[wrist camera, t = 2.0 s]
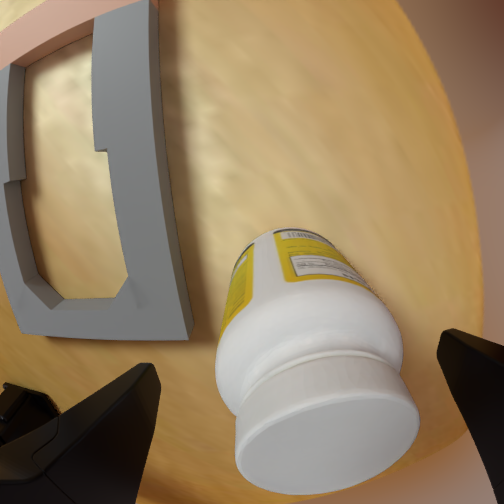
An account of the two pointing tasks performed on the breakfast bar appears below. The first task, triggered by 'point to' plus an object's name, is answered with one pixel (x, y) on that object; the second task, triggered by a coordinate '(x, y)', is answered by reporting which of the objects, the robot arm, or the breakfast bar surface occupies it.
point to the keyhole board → (120, 166)
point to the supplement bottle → (310, 369)
